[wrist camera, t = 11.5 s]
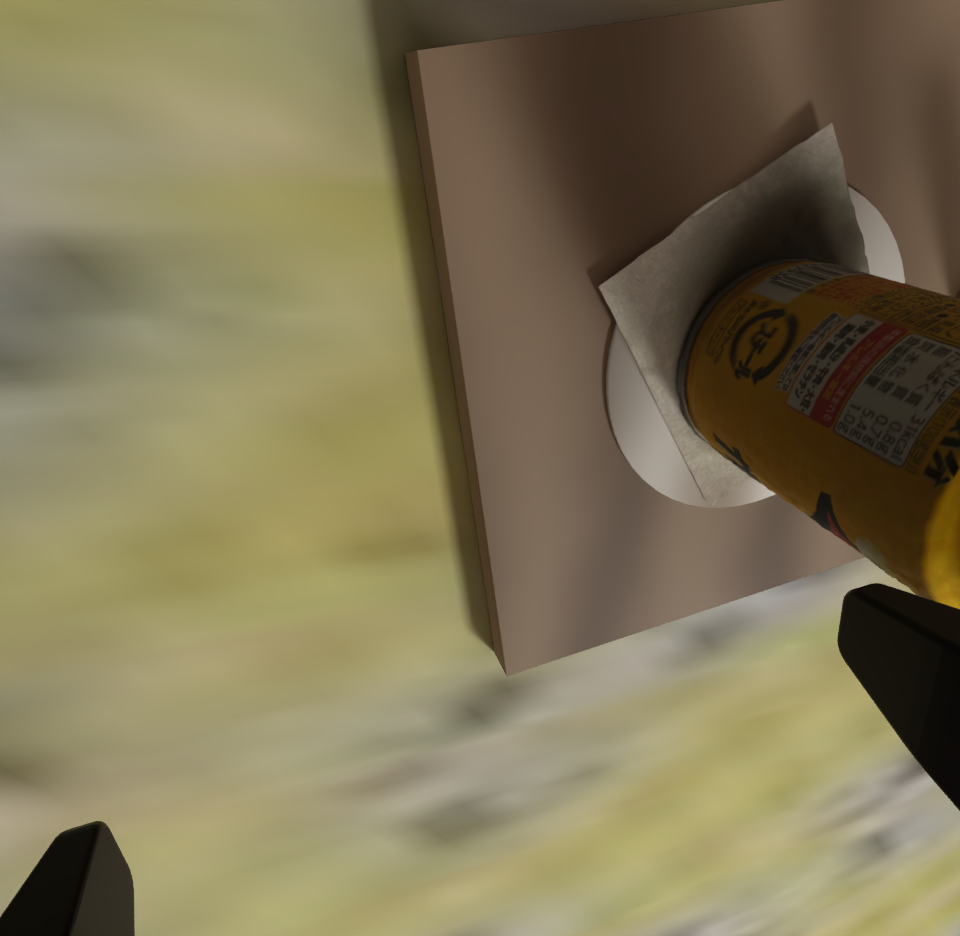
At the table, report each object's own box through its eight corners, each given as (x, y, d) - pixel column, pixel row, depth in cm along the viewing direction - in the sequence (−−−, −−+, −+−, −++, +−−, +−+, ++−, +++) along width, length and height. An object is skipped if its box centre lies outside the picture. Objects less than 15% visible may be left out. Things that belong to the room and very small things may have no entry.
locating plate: (494, 652, 26) (585, 827, 20) (404, 52, 17) (514, 31, 11) (1008, 486, 31) (1210, 584, 25) (1135, -48, 22) (1491, -101, 16)
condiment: (706, 504, 24) (1076, 806, 14) (595, 284, 20) (1015, 491, 10) (892, 370, 24) (1395, 573, 14) (823, 121, 20) (1482, 152, 10)
